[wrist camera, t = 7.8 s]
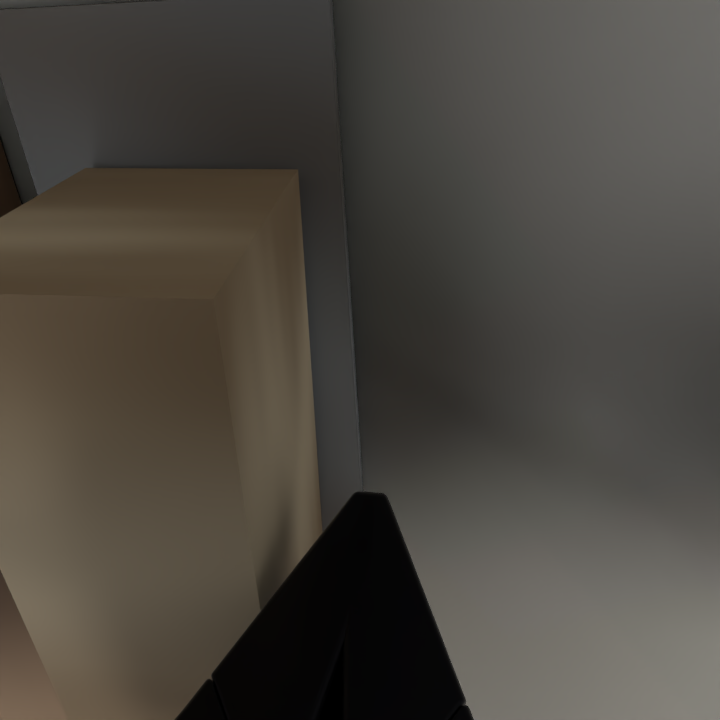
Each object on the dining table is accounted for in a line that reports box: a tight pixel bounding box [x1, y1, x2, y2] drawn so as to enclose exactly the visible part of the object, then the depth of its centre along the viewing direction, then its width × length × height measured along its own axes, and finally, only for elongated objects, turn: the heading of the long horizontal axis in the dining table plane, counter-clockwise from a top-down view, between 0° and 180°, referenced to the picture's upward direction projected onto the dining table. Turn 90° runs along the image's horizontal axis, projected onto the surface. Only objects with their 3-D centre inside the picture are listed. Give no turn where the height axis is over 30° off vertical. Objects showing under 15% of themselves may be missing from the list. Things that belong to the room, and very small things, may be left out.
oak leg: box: [0, 168, 322, 720], centre depth 11 cm, size 16×3×4 cm, turn 1°
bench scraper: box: [0, 0, 363, 720], centre depth 11 cm, size 18×9×3 cm, turn 3°
